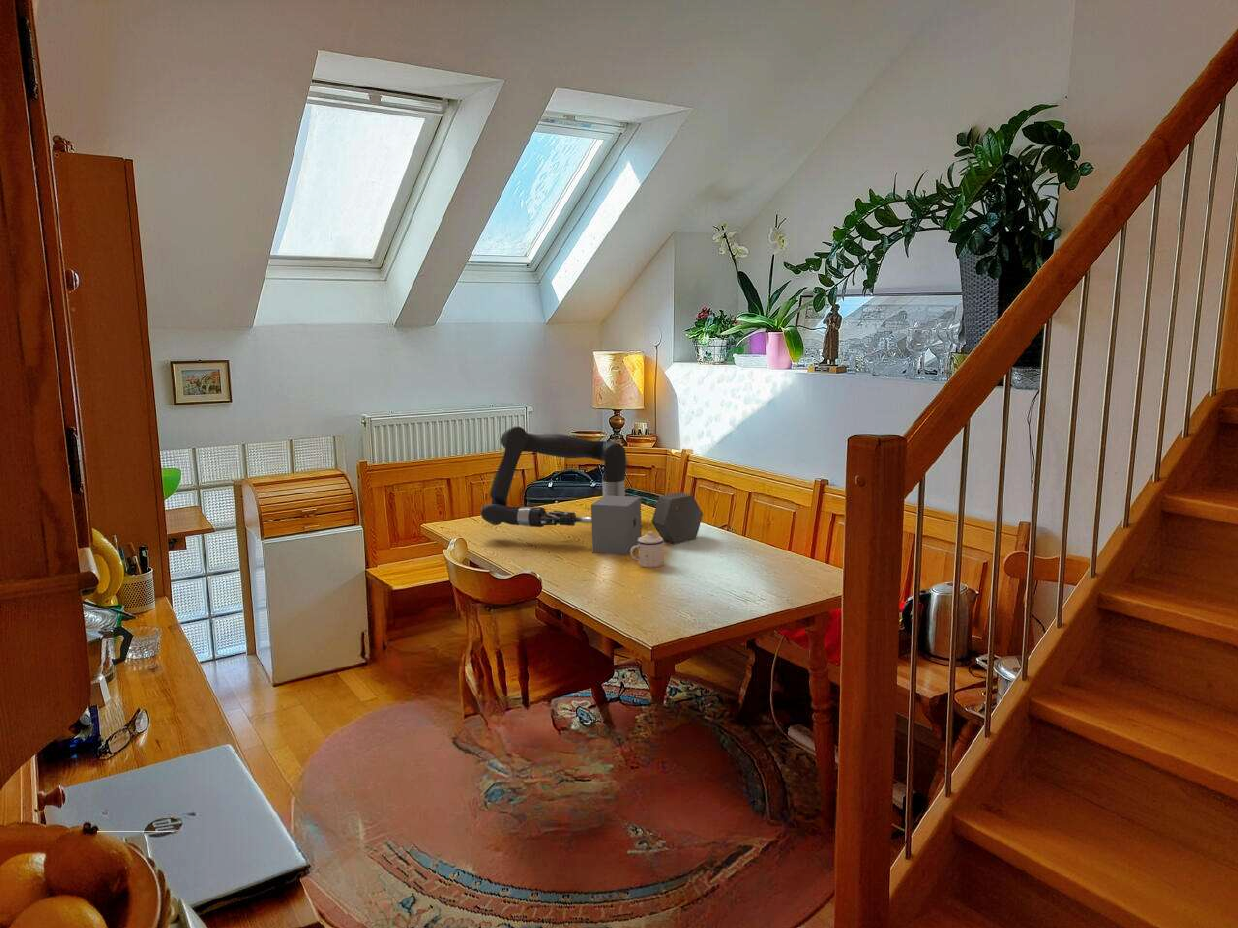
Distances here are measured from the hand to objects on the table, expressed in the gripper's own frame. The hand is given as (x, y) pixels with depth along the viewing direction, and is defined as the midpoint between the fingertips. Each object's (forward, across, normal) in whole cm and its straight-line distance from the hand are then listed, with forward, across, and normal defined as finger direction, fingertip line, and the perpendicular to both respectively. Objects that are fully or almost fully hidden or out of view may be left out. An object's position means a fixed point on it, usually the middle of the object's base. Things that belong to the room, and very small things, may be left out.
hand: (572, 519), depth 324 cm
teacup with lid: (+35, -18, +10) cm, 40 cm away
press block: (+18, 0, +10) cm, 20 cm away
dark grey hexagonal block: (+37, +16, +10) cm, 41 cm away
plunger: (+5, 0, +3) cm, 5 cm away
